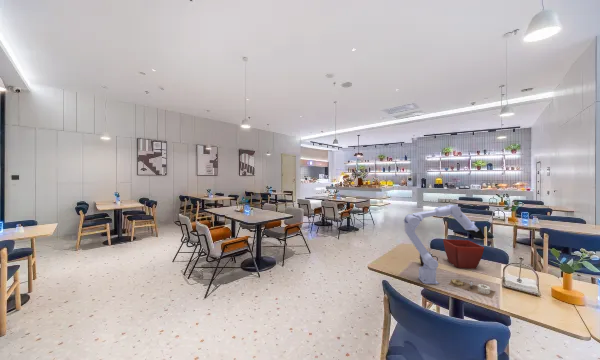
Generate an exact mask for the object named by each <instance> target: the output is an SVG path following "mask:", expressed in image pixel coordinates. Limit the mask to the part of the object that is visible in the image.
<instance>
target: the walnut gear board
mask: <svg viewBox="0 0 600 360" xmlns="http://www.w3.org/2000/svg"><path fill="white" fill-rule="evenodd" d="M447 285H448V286H451V287H454V288H457V289H461V290H463V291H467V292H470V293H474V294H476V295H480V296H482V297H483V296H484V297H487V298H489V299H493V297H494V296H495V294H496V292H497V291H495V290H492V289H490V294H483V293H480V292H479V291H478V285H475V284H473V288H470V282H465V281H462V280H460V279H455V278H452V279H450V282H449V283H448V284H447Z"/></svg>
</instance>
